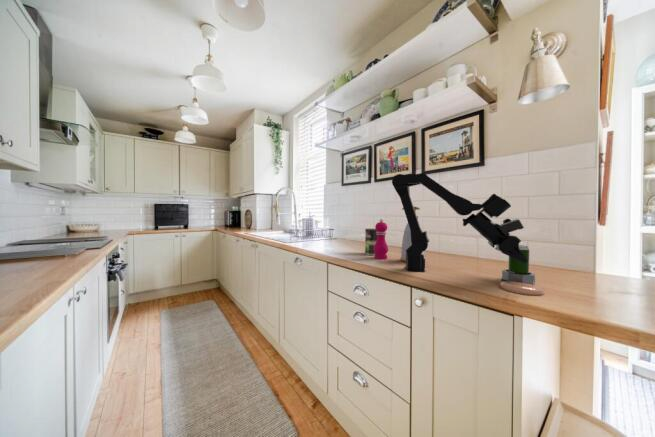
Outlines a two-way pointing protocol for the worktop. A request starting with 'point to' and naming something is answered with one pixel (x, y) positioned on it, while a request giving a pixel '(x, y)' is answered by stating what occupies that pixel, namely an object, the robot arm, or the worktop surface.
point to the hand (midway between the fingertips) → (523, 260)
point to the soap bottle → (407, 239)
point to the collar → (518, 277)
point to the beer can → (519, 262)
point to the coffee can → (370, 241)
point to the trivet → (522, 288)
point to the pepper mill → (381, 241)
